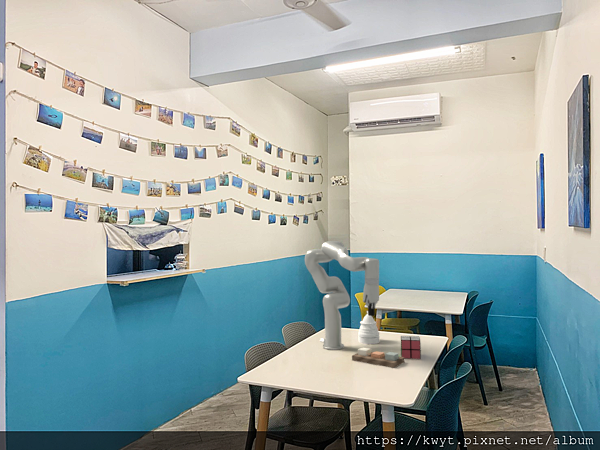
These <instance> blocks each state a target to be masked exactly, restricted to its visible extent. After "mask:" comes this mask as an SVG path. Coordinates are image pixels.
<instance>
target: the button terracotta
mask: <svg viewBox="0 0 600 450" xmlns="http://www.w3.org/2000/svg"><path fill="white" fill-rule="evenodd" d="M372 352H373V353H371V357H373V358H379V359H381V358H383V357H385V356H384V354H385V352H382V351H377V350H376V351H375V350H374V351H372Z"/></svg>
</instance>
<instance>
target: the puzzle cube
mask: <svg viewBox="0 0 600 450" xmlns="http://www.w3.org/2000/svg"><path fill="white" fill-rule="evenodd" d="M421 346H422V345H421V337H420V336H419V335H401V336H400V355H401V356H400V357H404V360H421V359H422V353H421V351H422V350H421V348H422V347H421Z"/></svg>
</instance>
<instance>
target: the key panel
mask: <svg viewBox="0 0 600 450" xmlns="http://www.w3.org/2000/svg"><path fill="white" fill-rule="evenodd" d="M373 352H374V351H371V353H373ZM385 354H386V353H384V356H385ZM351 361H354V362H360V363H364V364H369V365H375V366H381V367H386V368H391V369H395V368H397V367H399V366H400V365H402V364H404V363H405V359H404V357H401V356H399V359H398V360H396V361H390V360H385V357H383V358H381V359H379V358H373V357H371V355H368V356H362V355H358V352H357V353H354V354H353V355H351Z"/></svg>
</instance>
